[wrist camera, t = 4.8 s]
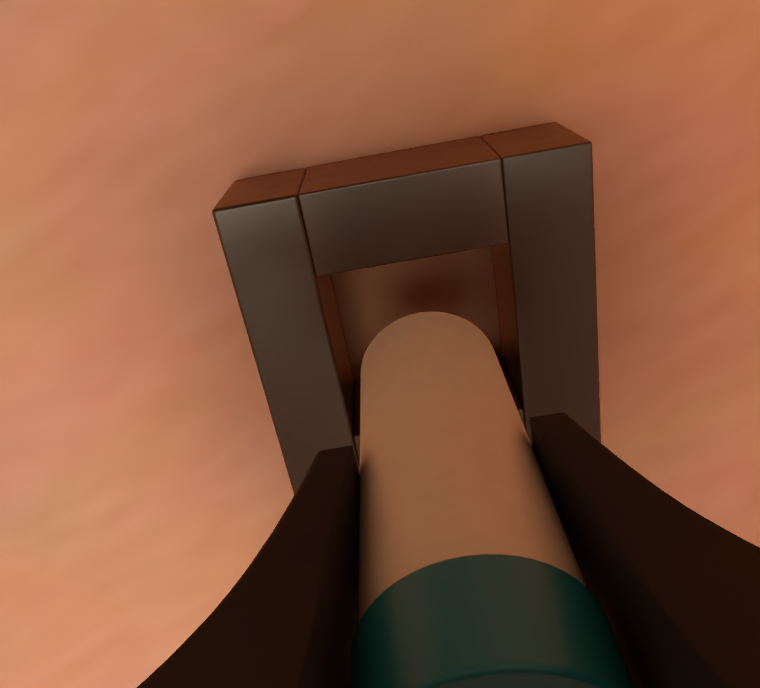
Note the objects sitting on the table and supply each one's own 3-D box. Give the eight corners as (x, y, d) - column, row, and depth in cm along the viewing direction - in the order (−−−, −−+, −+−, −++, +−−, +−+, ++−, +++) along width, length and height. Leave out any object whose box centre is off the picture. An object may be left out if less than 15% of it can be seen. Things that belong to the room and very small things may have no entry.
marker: (494, 293, 15) (659, 646, 6) (508, 436, 16) (655, 859, 8) (343, 319, 15) (318, 692, 7) (373, 457, 17) (382, 892, 8)
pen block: (556, 121, 17) (592, 141, 15) (579, 556, 24) (606, 624, 21) (233, 180, 18) (210, 210, 15) (344, 590, 24) (342, 661, 22)
